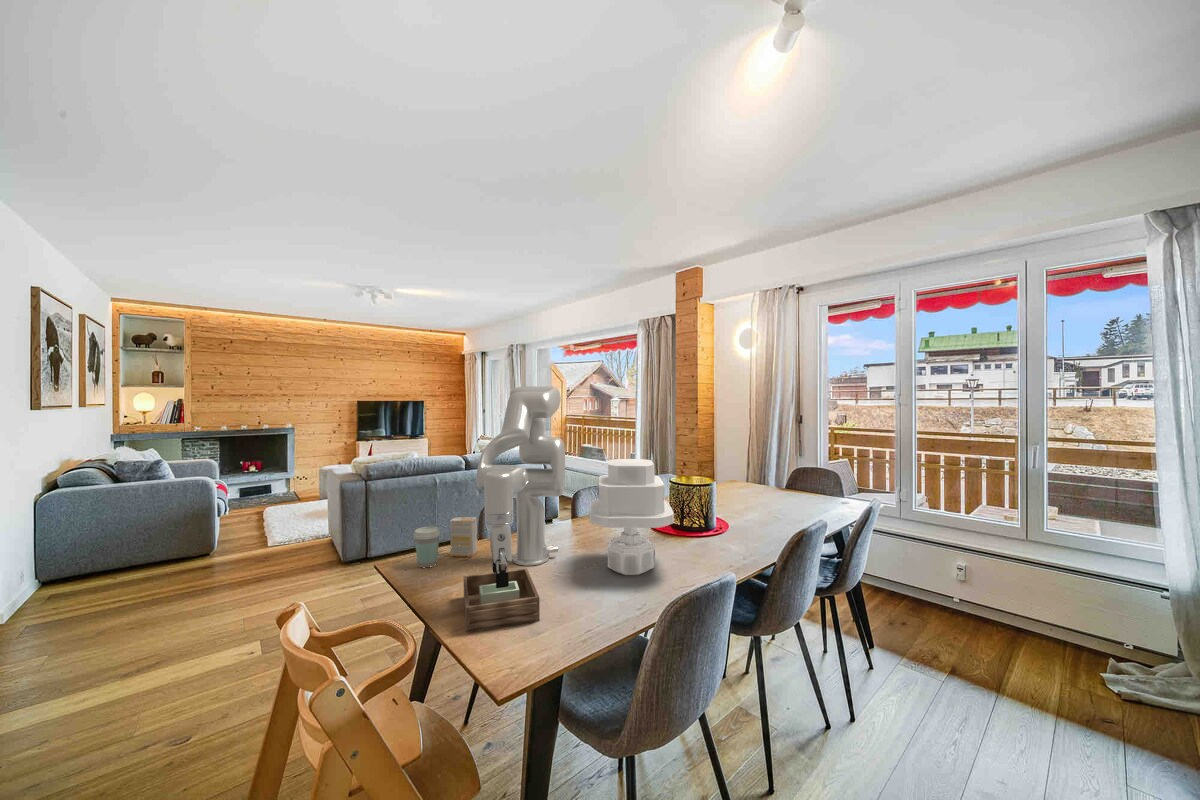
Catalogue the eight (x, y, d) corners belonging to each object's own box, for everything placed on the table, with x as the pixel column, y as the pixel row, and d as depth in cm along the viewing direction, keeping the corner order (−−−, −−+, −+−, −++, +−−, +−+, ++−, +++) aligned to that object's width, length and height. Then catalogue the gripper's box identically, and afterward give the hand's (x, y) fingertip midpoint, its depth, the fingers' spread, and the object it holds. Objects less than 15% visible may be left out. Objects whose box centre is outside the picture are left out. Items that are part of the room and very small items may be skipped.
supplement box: (477, 552, 166) (477, 516, 165) (472, 557, 161) (472, 520, 161) (455, 552, 166) (455, 516, 166) (450, 556, 162) (449, 520, 161)
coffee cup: (446, 562, 157) (445, 527, 157) (429, 571, 149) (428, 534, 149) (425, 559, 160) (425, 524, 159) (407, 568, 152) (407, 532, 151)
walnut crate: (527, 588, 136) (526, 568, 136) (540, 622, 116) (540, 598, 116) (463, 597, 130) (463, 576, 130) (466, 634, 110) (465, 609, 110)
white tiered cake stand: (676, 585, 138) (677, 469, 137) (588, 584, 138) (588, 469, 137) (665, 553, 164) (665, 456, 164) (591, 553, 165) (591, 456, 164)
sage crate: (516, 598, 128) (516, 580, 128) (519, 608, 122) (519, 589, 122) (479, 603, 125) (479, 585, 125) (480, 614, 119) (480, 595, 119)
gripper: (517, 525, 116) (518, 591, 117) (509, 507, 132) (510, 564, 133) (487, 529, 114) (488, 596, 115) (482, 509, 130) (483, 568, 131)
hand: (500, 579), depth 124 cm, fingers open, 9 cm apart
